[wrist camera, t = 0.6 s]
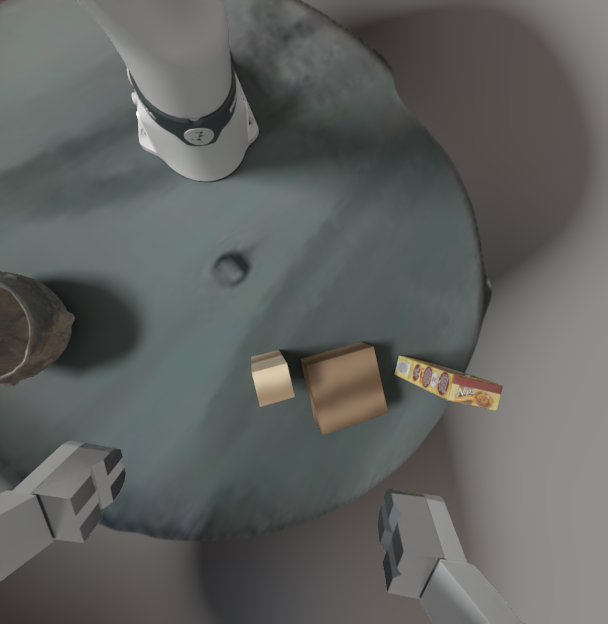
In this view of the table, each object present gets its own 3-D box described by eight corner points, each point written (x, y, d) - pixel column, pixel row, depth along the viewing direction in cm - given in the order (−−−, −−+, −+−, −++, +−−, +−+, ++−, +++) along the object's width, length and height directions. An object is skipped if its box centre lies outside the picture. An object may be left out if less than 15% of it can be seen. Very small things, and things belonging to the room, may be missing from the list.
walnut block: (299, 358, 52) (306, 366, 46) (359, 341, 54) (373, 346, 48) (314, 419, 53) (322, 434, 47) (373, 400, 55) (388, 412, 50)
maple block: (251, 356, 50) (251, 372, 39) (278, 349, 51) (287, 363, 40) (257, 383, 51) (260, 406, 40) (284, 376, 51) (294, 396, 41)
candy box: (393, 374, 56) (447, 402, 41) (398, 353, 56) (453, 373, 41) (432, 383, 57) (497, 412, 42) (437, 362, 57) (504, 385, 42)
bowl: (36, 389, 44) (-24, 415, 34) (-51, 317, 42) (-143, 323, 32) (108, 327, 46) (70, 334, 36) (28, 253, 43) (-36, 240, 33)
